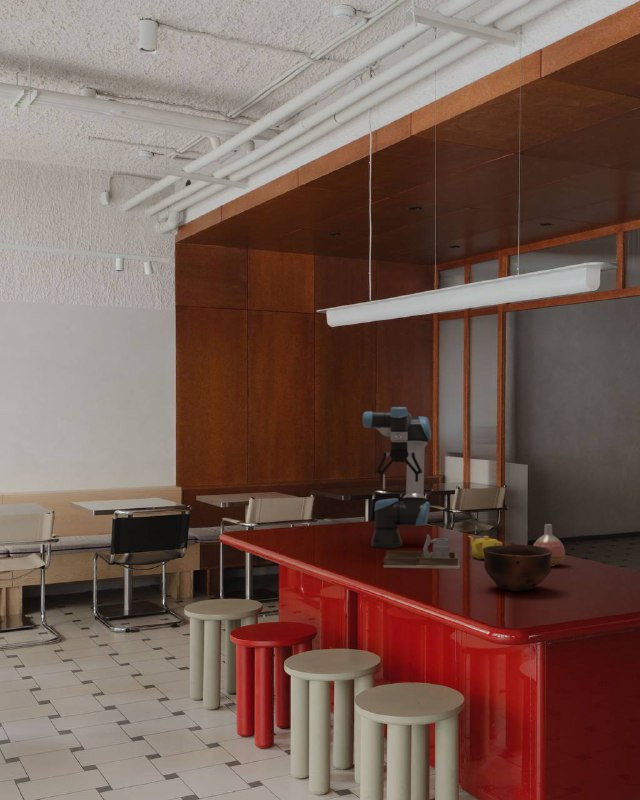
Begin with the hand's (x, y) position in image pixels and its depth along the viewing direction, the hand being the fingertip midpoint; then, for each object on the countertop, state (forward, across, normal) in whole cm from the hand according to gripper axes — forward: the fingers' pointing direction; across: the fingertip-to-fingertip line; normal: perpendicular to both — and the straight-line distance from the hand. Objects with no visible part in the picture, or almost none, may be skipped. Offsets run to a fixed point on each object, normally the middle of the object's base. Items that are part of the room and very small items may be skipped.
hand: (399, 489), depth 402 cm
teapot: (+32, +38, +9) cm, 50 cm away
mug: (+31, +16, -9) cm, 36 cm away
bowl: (+32, +46, -62) cm, 84 cm away
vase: (+32, +64, -7) cm, 72 cm away
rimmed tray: (+32, +10, -9) cm, 34 cm away
